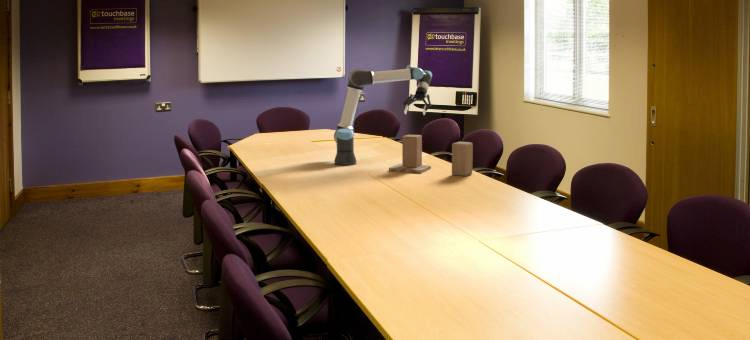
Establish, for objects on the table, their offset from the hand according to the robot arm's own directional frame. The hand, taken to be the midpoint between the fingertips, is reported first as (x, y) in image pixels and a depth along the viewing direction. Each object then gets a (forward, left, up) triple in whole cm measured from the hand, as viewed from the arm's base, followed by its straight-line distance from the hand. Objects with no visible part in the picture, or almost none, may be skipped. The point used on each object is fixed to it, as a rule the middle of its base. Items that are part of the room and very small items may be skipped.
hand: (414, 113), depth 477 cm
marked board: (+8, -28, -34) cm, 44 cm away
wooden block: (+8, -25, -32) cm, 41 cm away
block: (+44, -31, -34) cm, 63 cm away
